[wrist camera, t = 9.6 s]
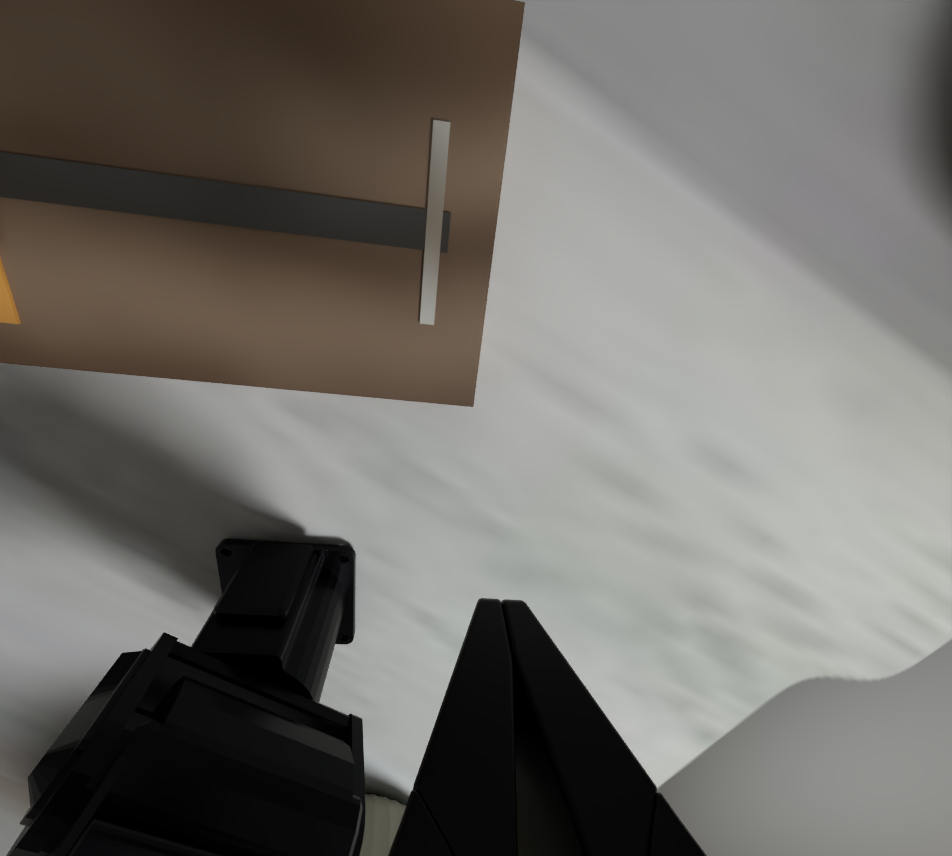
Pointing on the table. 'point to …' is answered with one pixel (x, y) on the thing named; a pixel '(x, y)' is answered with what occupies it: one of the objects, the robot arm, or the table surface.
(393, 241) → the board
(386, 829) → the canister
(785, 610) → the table surface
